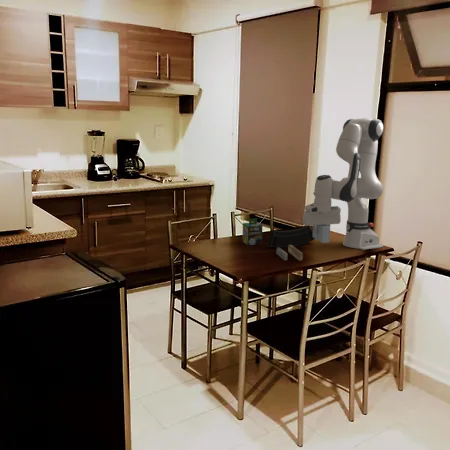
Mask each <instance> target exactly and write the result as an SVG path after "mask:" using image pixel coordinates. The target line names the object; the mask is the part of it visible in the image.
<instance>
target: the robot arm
mask: <svg viewBox="0 0 450 450" xmlns="http://www.w3.org/2000/svg"><path fill="white" fill-rule="evenodd" d="M383 133H384V123H383V122H382V120H380V119H377V118H366V117H364V118H350V119H347V120H346V121H345V122H344V124H343V125H342V132H341V134H340V135H339V138H338V141H337V143H336V147H335V152H336V155H337V156H338V158H340V159H341V160H342V161H344V162H346V163H348V165H349V167H348V168H349V169H348V174H347V177H343V178H341V180H335V179H333V178H332V176H331V175H329V174H322V175H321V174H320V175H318V176H317V177H316V179H315V181H314V182H315V183H314V190H313V191H314V193H315V195H314V199H313V203H310V204H307V205H305V206H304V212H303V215H302V225H304V227H306V226H310V227H311V226H312V229H313V228H314V233H315V234H316V233H318V230H317V229H316V227H317V225H327V226H329V227H330V228H331V225H339V224H341V220H342V219H341V210H342V209H341V207H340V206H338V205H336V206H335V205H334V206H332V199H333V200H336V201H342V202H344V203H345V202H346V204H347V220H346V225H345V227H346V231H345V237H344V239H343V242H342V245H343V246H345V247H346V248H352V249H358V250H359V249H360V250H363V251H364V250H369V249H370V250H371V249H379V248H383V247H384V244H383V243H382V242H380V238H379V235H378V234H377V233H376V232H375V231H374V230H373V229H372V227H373V228H374V223H373V222H368V220H369V213H370V212H369V208H368V206H367V205H366V204H365V203H364V202H363V200H362V199H367V200H374V199H375V200H376V199H379V198H380V197H381V196H382V194H383V191H384V185H383V183H382V182H381V181H380V180H379V178H378V177H377V174H376V161H377V156H378V149H379V148H378V146H379V145H378V144H379V141H378V140H379V139H380V137H381V136H382V135H383ZM359 175H360V177H359Z"/></svg>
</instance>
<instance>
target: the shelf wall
mask: <svg viewBox="0 0 450 450" xmlns="http://www.w3.org/2000/svg"><path fill="white" fill-rule="evenodd" d="M287 248H288V249H287V250H288V251H287V253H288V254H289V255H291V256H293V257H294V258H295V259H297V260H298V261H299V262H300V261H301V262H302V261H303V259H304V258H303V257H304V253H303V252H302V251H300V250H299V249H298V248H297V247H296V246H292V245H288V247H287Z"/></svg>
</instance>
